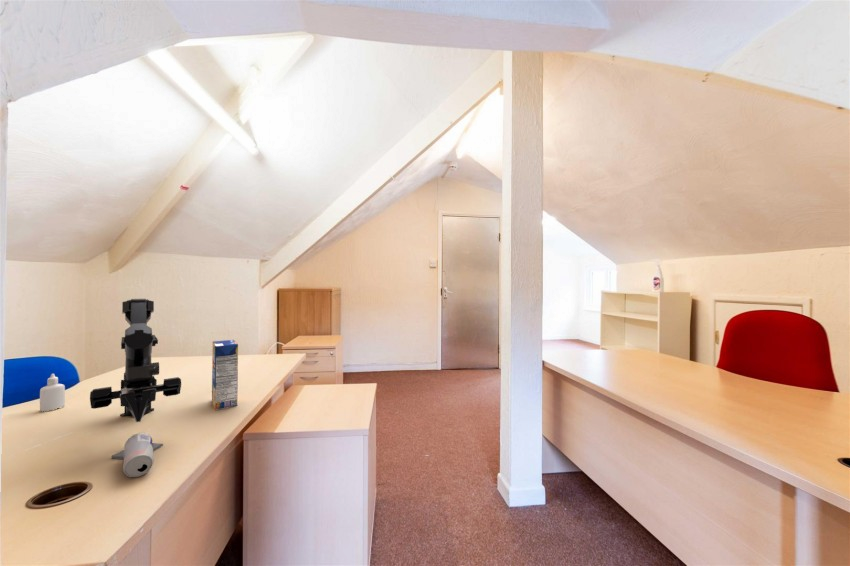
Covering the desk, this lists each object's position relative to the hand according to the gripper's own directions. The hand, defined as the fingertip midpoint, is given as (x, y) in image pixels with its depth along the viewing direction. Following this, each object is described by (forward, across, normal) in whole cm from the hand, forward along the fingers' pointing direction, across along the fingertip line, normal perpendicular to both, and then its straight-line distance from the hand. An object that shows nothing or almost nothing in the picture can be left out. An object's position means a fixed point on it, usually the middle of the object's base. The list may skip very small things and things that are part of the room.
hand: (138, 421), depth 88 cm
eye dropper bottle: (-32, -22, +44) cm, 59 cm away
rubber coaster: (+6, 0, +5) cm, 8 cm away
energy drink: (+5, 0, +1) cm, 5 cm away
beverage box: (-12, +24, +24) cm, 36 cm away
